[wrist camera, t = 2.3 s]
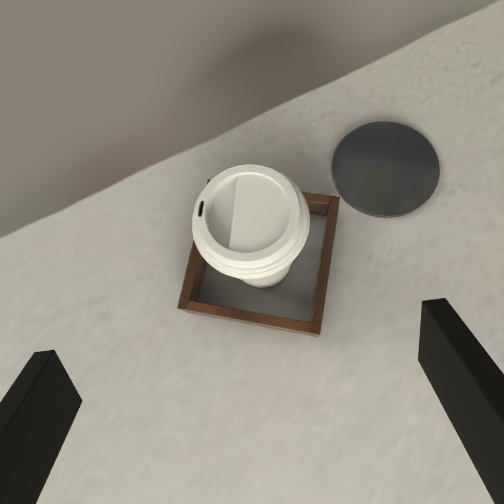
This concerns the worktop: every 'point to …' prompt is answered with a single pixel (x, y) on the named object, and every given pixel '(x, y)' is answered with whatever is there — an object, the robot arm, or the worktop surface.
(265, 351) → the worktop surface
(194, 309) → the square wooden frame
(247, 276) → the coffee cup
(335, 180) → the slate coaster
